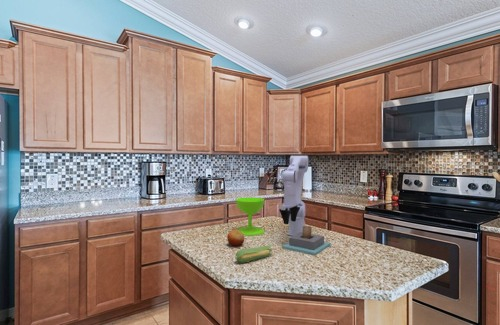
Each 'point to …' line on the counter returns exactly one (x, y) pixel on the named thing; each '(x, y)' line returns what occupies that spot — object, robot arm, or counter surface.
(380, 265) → the counter surface
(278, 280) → the counter surface
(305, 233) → the peg
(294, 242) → the socket board
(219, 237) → the counter surface
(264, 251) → the edible corn
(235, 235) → the fruit
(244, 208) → the wineglass
